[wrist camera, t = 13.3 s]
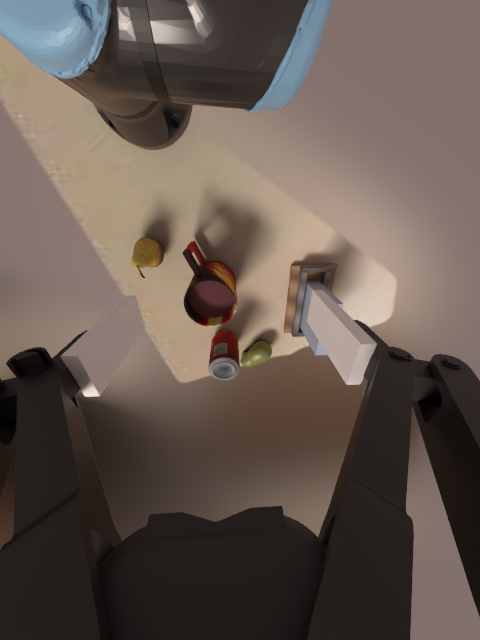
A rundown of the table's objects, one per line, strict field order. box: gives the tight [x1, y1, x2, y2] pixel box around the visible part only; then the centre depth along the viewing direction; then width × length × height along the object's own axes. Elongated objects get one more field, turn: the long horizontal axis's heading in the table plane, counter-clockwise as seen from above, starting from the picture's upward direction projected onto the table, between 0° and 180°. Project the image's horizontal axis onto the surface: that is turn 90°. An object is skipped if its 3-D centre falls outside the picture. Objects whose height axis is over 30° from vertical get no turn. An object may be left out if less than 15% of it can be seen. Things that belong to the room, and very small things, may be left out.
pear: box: [241, 341, 272, 367], centre depth 57 cm, size 6×5×10 cm
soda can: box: [209, 330, 240, 380], centre depth 51 cm, size 7×7×12 cm
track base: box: [284, 264, 337, 337], centre depth 50 cm, size 18×10×3 cm, turn 1°
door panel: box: [299, 281, 343, 355], centre depth 45 cm, size 12×3×12 cm, turn 1°
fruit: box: [132, 238, 164, 278], centre depth 38 cm, size 6×6×12 cm
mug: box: [183, 241, 237, 327], centre depth 42 cm, size 10×14×12 cm
